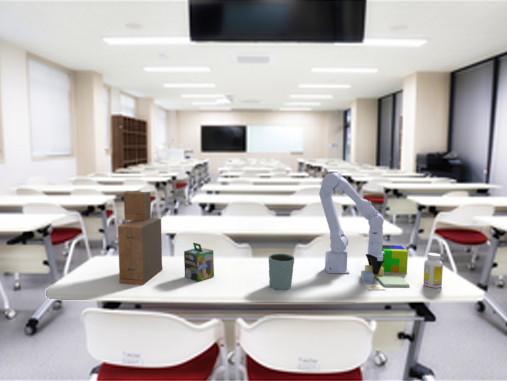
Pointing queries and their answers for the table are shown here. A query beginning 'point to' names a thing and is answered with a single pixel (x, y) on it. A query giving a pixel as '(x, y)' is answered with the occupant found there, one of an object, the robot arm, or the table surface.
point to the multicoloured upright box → (198, 263)
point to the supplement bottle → (433, 270)
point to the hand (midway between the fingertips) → (374, 272)
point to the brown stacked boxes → (139, 241)
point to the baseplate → (392, 281)
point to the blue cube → (367, 276)
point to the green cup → (280, 271)
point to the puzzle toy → (394, 259)
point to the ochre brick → (369, 268)
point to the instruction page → (375, 287)
